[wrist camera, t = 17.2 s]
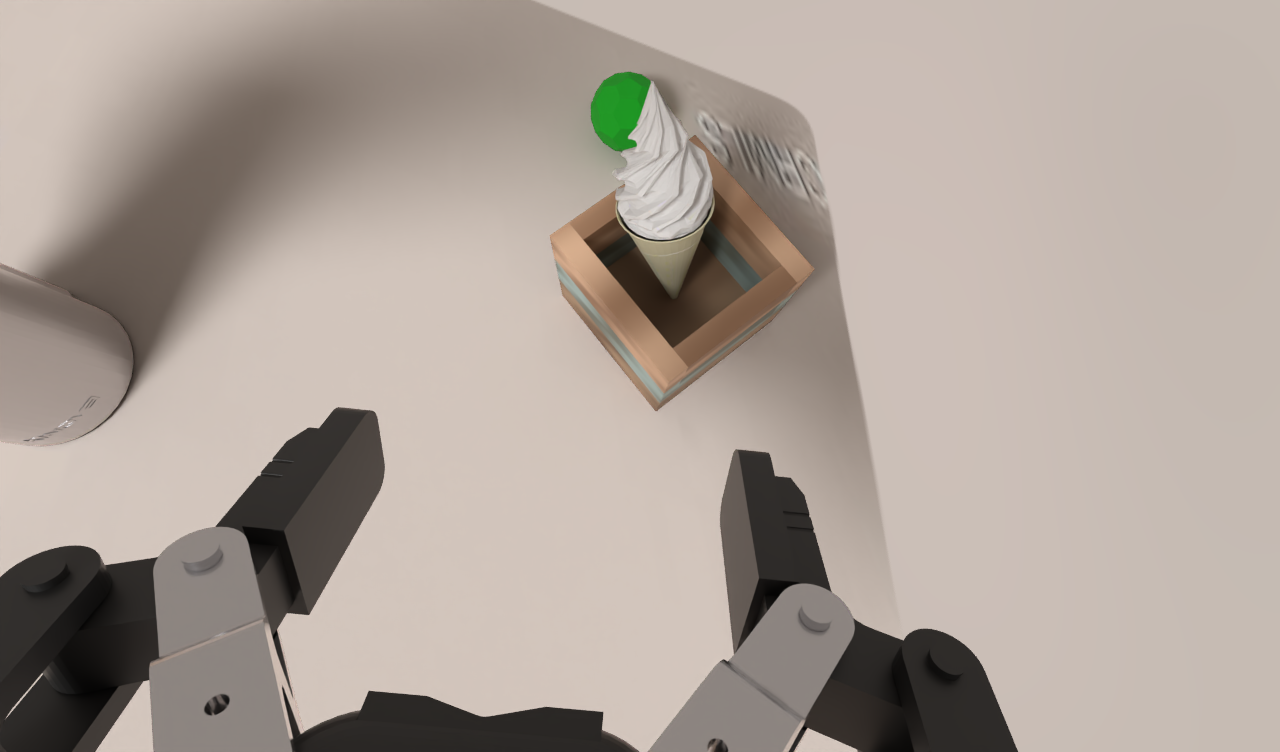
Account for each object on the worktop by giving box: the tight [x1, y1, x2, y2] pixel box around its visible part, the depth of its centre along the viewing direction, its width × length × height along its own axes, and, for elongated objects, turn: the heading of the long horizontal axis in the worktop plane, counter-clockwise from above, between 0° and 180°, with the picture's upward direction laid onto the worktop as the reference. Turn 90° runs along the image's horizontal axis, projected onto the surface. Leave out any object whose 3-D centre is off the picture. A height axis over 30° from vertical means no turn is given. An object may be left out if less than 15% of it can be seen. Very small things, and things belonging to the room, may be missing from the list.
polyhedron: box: [591, 72, 651, 151], centre depth 41 cm, size 5×5×5 cm
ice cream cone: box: [613, 81, 715, 299], centre depth 31 cm, size 5×5×15 cm
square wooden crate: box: [550, 135, 814, 411], centre depth 37 cm, size 10×10×9 cm
